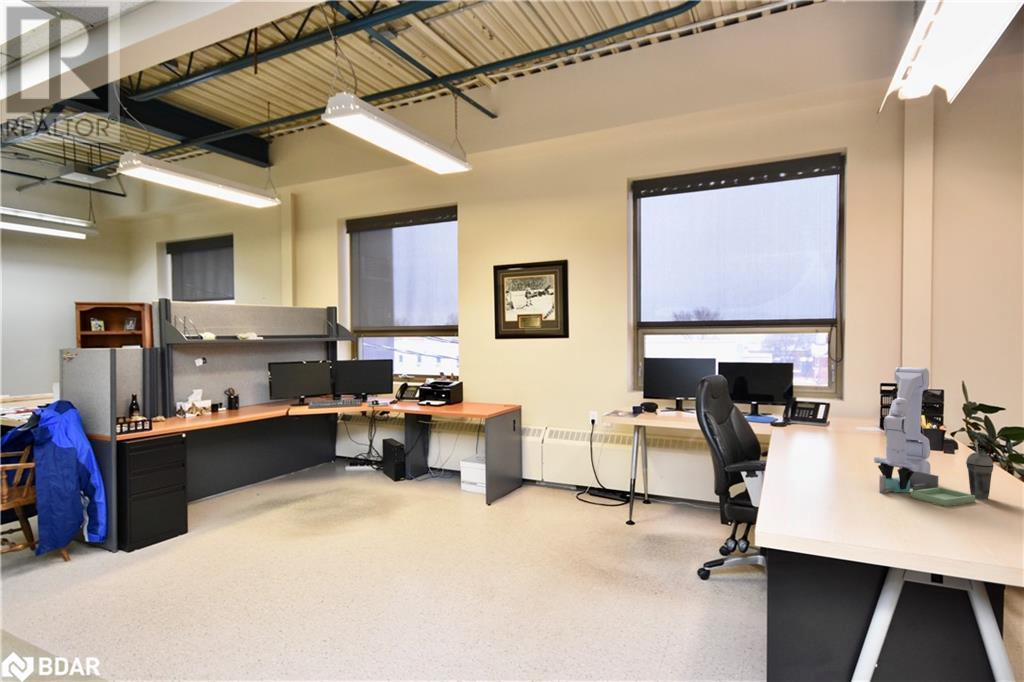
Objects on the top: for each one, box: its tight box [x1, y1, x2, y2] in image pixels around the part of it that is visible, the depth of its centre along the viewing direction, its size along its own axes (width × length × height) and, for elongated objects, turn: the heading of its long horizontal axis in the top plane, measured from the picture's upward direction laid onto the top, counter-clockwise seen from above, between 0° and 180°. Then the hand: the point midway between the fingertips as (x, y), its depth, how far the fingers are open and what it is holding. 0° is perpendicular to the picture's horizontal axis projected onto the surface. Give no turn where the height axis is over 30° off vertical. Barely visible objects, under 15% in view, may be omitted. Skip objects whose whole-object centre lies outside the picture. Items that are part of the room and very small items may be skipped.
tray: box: [910, 486, 976, 507], centre depth 179 cm, size 15×11×2 cm
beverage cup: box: [965, 439, 995, 500], centre depth 181 cm, size 7×7×20 cm
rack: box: [899, 468, 939, 491], centre depth 192 cm, size 8×13×6 cm, turn 19°
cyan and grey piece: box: [878, 474, 911, 494], centre depth 188 cm, size 11×4×6 cm, turn 108°
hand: (895, 487), depth 189 cm, fingers closed on cyan and grey piece, 4 cm apart
